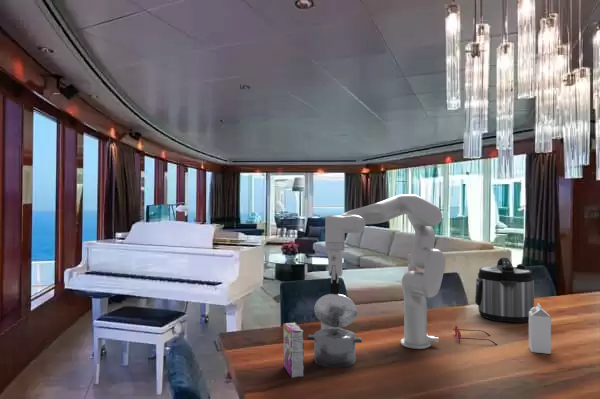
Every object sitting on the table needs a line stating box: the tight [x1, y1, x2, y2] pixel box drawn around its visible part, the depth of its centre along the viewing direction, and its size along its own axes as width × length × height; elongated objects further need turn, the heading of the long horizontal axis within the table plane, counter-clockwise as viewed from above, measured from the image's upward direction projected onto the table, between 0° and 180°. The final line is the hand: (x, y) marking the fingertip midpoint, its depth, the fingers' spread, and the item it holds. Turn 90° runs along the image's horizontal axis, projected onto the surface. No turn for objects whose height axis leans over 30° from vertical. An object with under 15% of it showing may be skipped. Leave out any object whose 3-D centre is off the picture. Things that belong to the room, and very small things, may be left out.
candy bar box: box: [282, 322, 305, 379], centre depth 160 cm, size 11×5×16 cm, turn 17°
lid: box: [313, 293, 358, 328], centre depth 177 cm, size 17×17×2 cm
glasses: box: [452, 325, 498, 346], centre depth 198 cm, size 14×16×5 cm
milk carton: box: [528, 302, 552, 355], centre depth 183 cm, size 7×7×19 cm
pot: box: [307, 327, 363, 369], centre depth 173 cm, size 21×17×10 cm
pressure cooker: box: [474, 257, 535, 323], centre depth 235 cm, size 30×28×32 cm
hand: (334, 293), depth 174 cm, fingers closed
